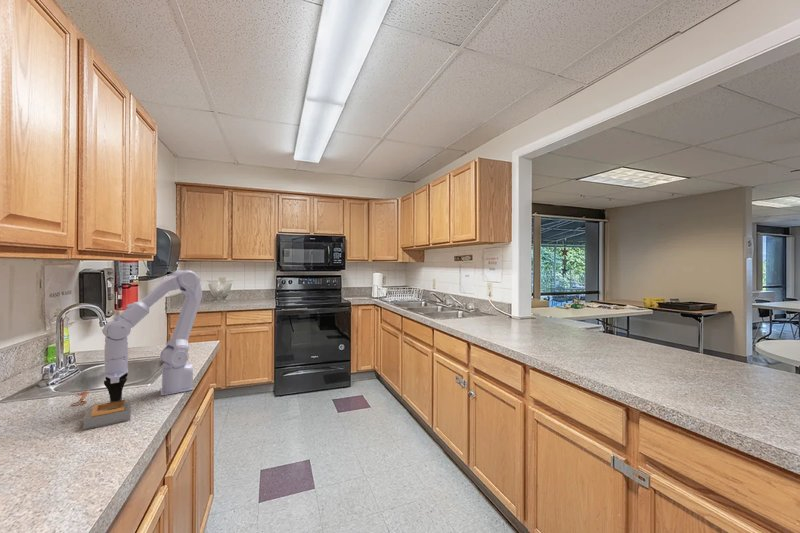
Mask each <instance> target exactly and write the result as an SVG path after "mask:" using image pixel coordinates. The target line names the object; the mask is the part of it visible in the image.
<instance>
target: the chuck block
mask: <svg viewBox="0 0 800 533" xmlns="http://www.w3.org/2000/svg"><path fill="white" fill-rule="evenodd" d="M131 412H132V401H131V400H129V401H126V400H125V399H122V400H119V401H114V402H110V401H109V402H103V403H99V404H94V405H93V407H92V408H88V409H86V412H85V414H84V417H83V431H86V430H90V429H94V428H99V427H103V426H109V425H113V424H117V423H118V424H119V423H123V422H127V421H131V414H132V413H131Z"/></svg>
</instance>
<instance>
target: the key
mask: <svg viewBox="0 0 800 533" xmlns="http://www.w3.org/2000/svg"><path fill="white" fill-rule="evenodd" d="M87 391H89V392H90V389H87V390H86V392H85V391H81V392H77V394H76V395H74V397H81V398H80V399H79V400H78V401H77V402H74V403H72V404H70V406H69V407H79V405H80V406H83V405H85V404H87V401H86V400H84V399H85V398H86V396H88V394H89V392H87ZM80 393H81V394H80ZM82 402H83V403H82Z"/></svg>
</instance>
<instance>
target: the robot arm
mask: <svg viewBox="0 0 800 533" xmlns="http://www.w3.org/2000/svg"><path fill="white" fill-rule="evenodd" d="M176 290H180V291H181V293H182V294H183V295H184V297H185V298H184V300H183V303H182V306H181V309H180V312H179V315H178V317H177V318H178V319H177V320H176V323H175V327H174V330H173V332H172V334H171V335H172V336H171V338H170V339H169V340H168V341H167V342H166V345H165V347H164V348H163V349H162V350H161V352H160V354H159V355H160V357H159V358H160V360H161V362H163V364H162V366H161V387H160V388H159V390H160V396H167V395H172V394H176V393H177V394H178V393H184V392H189V391H192V390H194V386H193V385H194V369H193V368H194V366H193V363H187V362H188V361H189V358H190V357H189V356H190V354H189V349H190V344H189V338H190V335H191V332H192V329H193V326H194V323H195V320H196V318H197V317H196V316H197V313H198V310H199V307H200V304H201V300H202V298H203V290H202V285H201V277H200V276H199V275H197V273H196V271H195V272H194V271H193V270H189V269H188V270H182V269H177V270H174V271H173V272H172V273H171V274H169V275H167V276H166V277H165V278H164V279H163V280H162V281H160V283H159V284H157V285H156V287H154V288H153V289H152V290H151V291H150V292H149V293H148V294H147V295H146V296H145V297H143V299H142V300H141V301H134V302H132V303H128V304H127V305H126V306H125V307H126V308H125V309H124V310H123V311H122V312H121V313H120V314H118V315H115V316H114V317H112V318H113V320H109V321H108V322H106V324H105V325H104V326H103V329H102V330H101V331H102V334H103V335H104V336H105V338H104V371H102V372H99V376H100V377H103V376H104V377H105V378H104V379H105V380H104V381H103V385H104V386H105V387H106V389H107V391H108V394H109V400H110V399H111V402H114V401H119V400H120V398H121V394H122V395H123V389H124V386H125V384H126V383H127V381H128V378H127V377H128V375H129V374H128V372H129V366H128V365H129V362H128V361H129V359H128V358H129V357H128V356H129V354H128V353H129V352H128V351H129V350H128V349H129V348H128V347H129V345H128V344H129V342H128V336H130V334H131V332H132V328H134V327H135V326H137V325H138V324H139V322H141V320H143V319H144V318H145V317H146V316H148V315H149V314H150V307H152V306H153V305H154V304H156V303H158V302H159V300H161V299H162V298H163V297H164V296H165V295H166V294H169V292H171V291H176Z"/></svg>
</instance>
